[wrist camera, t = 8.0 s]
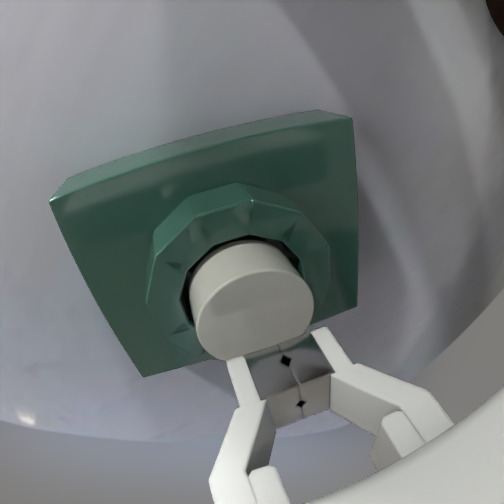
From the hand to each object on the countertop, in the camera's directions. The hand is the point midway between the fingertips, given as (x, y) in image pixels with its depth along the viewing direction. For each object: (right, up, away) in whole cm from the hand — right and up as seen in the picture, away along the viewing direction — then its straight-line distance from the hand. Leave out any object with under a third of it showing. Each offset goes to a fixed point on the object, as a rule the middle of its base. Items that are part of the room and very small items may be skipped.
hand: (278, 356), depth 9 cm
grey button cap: (-1, +2, +3) cm, 4 cm away
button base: (-2, +4, +7) cm, 8 cm away
